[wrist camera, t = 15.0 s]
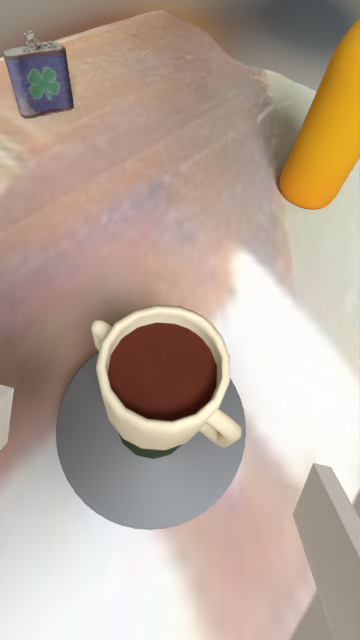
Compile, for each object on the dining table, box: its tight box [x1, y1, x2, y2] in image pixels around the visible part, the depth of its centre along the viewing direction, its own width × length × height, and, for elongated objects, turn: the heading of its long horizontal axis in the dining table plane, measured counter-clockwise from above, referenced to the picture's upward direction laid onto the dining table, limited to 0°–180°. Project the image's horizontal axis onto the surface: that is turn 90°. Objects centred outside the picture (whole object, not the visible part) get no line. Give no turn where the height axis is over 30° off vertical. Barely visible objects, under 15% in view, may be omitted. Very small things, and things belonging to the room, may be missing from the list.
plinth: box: [56, 353, 246, 530], centre depth 31 cm, size 16×16×5 cm
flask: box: [3, 31, 74, 118], centre depth 53 cm, size 9×3×11 cm, turn 122°
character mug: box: [91, 305, 241, 459], centre depth 23 cm, size 11×7×13 cm, turn 53°
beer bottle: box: [279, 18, 360, 209], centre depth 42 cm, size 9×9×29 cm
